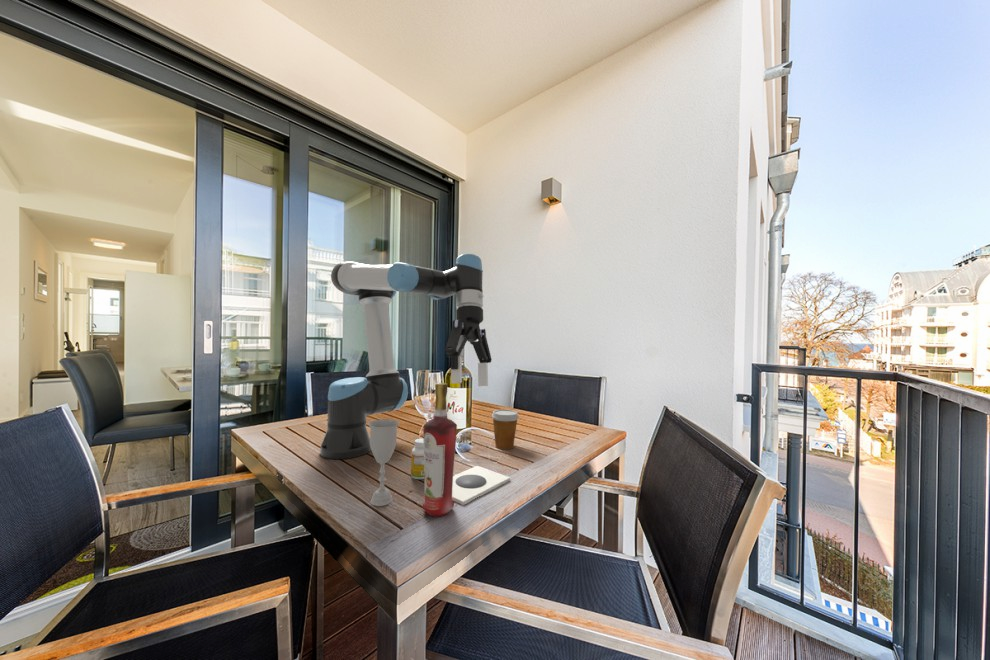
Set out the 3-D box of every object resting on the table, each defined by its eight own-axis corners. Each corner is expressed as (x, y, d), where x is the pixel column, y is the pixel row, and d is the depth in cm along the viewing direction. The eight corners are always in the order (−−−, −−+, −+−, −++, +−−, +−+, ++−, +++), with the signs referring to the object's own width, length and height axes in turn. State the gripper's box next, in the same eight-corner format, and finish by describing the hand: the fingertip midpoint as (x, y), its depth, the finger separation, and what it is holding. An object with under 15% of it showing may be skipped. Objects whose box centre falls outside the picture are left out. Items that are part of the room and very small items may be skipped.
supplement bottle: (415, 471, 97) (416, 436, 97) (433, 472, 96) (434, 438, 96) (407, 478, 91) (408, 442, 92) (426, 480, 91) (427, 444, 91)
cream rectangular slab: (477, 468, 100) (477, 465, 100) (510, 480, 92) (510, 476, 92) (428, 489, 86) (429, 485, 86) (463, 505, 78) (463, 500, 78)
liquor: (413, 512, 74) (417, 384, 75) (437, 499, 80) (440, 380, 81) (438, 524, 70) (442, 387, 70) (461, 509, 76) (464, 383, 76)
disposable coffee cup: (515, 452, 114) (516, 416, 114) (488, 449, 116) (489, 414, 116) (519, 443, 124) (520, 410, 124) (493, 441, 126) (494, 408, 126)
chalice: (402, 501, 79) (404, 423, 79) (374, 511, 74) (376, 428, 75) (388, 490, 84) (390, 417, 85) (360, 499, 80) (363, 421, 80)
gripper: (456, 293, 83) (456, 380, 78) (501, 316, 105) (503, 386, 100) (431, 298, 86) (430, 382, 82) (480, 320, 108) (481, 387, 103)
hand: (470, 384), depth 91 cm, fingers open, 13 cm apart
